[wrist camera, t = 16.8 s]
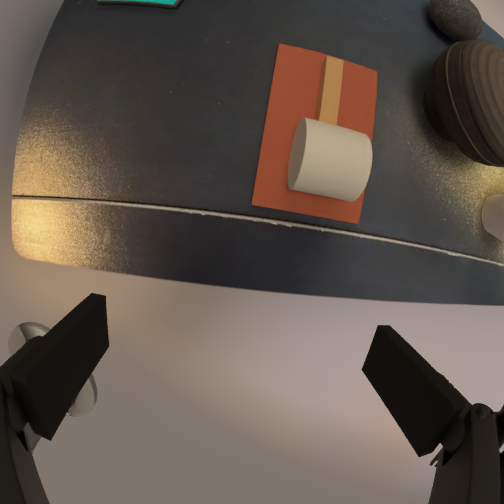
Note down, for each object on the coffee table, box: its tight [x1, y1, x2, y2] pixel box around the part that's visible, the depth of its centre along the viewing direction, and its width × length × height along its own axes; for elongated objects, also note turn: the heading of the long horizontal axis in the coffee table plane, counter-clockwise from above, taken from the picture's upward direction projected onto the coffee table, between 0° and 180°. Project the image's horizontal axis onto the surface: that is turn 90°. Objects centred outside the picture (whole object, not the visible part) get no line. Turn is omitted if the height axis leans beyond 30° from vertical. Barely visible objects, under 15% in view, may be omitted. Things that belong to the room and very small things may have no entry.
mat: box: [251, 44, 378, 224], centre depth 32 cm, size 22×14×1 cm, turn 171°
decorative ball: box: [429, 0, 482, 41], centre depth 23 cm, size 10×10×10 cm
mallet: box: [288, 56, 372, 202], centre depth 28 cm, size 18×7×8 cm, turn 171°
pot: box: [423, 39, 504, 167], centre depth 22 cm, size 18×18×20 cm
